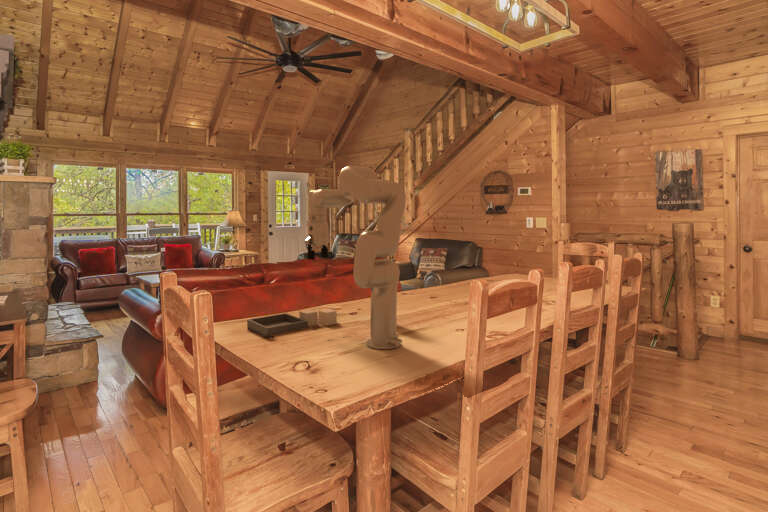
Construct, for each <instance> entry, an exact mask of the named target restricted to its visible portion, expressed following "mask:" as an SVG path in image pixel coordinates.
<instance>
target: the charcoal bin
mask: <svg viewBox="0 0 768 512" xmlns="http://www.w3.org/2000/svg"><path fill="white" fill-rule="evenodd" d="M246 322H247V323H246V325H247V330H249V331H251V332H252V333H254V334H256V335H259V336H261V337H264V338H265V339H271V338H274V335H278V334H280V335H281V334H285V333H290V332H294V331H300V330H304V329H309V328H308V321H307V320H304V319H301V318H300V317H298V316H295V315H293V314H289V313H287V312H286V313H285V312H283V313H279V314H278V313H277V314H273V315H266V316H261V317H253V318H248V319H247V321H246Z"/></svg>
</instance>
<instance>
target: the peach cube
mask: <svg viewBox="0 0 768 512" xmlns="http://www.w3.org/2000/svg"><path fill="white" fill-rule="evenodd" d="M337 312H338V311H337V310H336V309H332V308H325V309H321V310H320V309H319V310H318V319H319V323H320V324H323V325H325V326H327V325H332V324H337V323H338V322H337V321H338V317H337V316H338V315H337Z"/></svg>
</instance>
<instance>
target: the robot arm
mask: <svg viewBox="0 0 768 512" xmlns="http://www.w3.org/2000/svg"><path fill="white" fill-rule="evenodd" d="M337 185H338V186H337V187H338V189H334V188H332V189H331V188H330V189H329V188H328V189H327V188H323V189H322V188H321V189H311V190H310V191H309V192H308V228H307V238H306V239H305V240H304V243H305V248H306V251H307V260H313V261H314V260H316V258H315V257H316V256H315V255H316V254H315V253H316V252H315V248H316V247H320V246H321V251H320V255H321V258H325V259H326V258H328V257H329V246H330V243H331V237H330V233H329V232H330V231H329V225H328V220H327V217H328V216H327V215H328V214H327V212H328V210H327V208H339V209H340V208H343V207H346V206H348V205H351V204H354V202H355V200H356V201H358V202H359V203H361V204H365V205H367V204H368V205H370V204H371V205H382V204H383V205H384V206H383V207H382V209H381V210H380V212H379V214H378V218H377V224H376V229H375V230H366V231H363V232H362V233H360V235H359V236H358V238H357V240H356V243H355V252H354V261H353V262H354V264H353V280H354V283H355V284H356V286H357V287H359V288H361V289H370V288H371V289H372V287H374V289H373V291H372V290H371V295H370V338H369V339H367V340H366V343H365V344H366V346H367V347H368V348H371V349H375V350H392V349H396V348H398V347H399V348H400V346H401V344H402V342H403V339H402V338H399V334H398V333H397V310H398V309H397V303H398V301H397V299H398V298H397V297H398V285H399V282H400V277H401V276H400V274H401V272H400V271H401V270H400V266H399V265H398V264H397V262H396V261H395V260H392V259H388V257H392V256H395V255H396V254H397V252H398V250H399V246H400V239H401V232H402V231H401V230H402V223H403V222H402V221H403V216H404V212H405V208H406V204H407V197H406V192H405V190H404V187H403V185H401V184H400V183H398V182H397V181H394V180H389V179H378V175H377V173H376V172H375V170H374V169H373V168H371V167H368V166H358V165H347V166H345V167H343V168H342V169H341V170H340V172H339V175H338V184H337ZM385 257H387V258H386V259H385ZM377 258H380V259H377ZM381 258H382V259H381Z"/></svg>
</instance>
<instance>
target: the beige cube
mask: <svg viewBox="0 0 768 512" xmlns="http://www.w3.org/2000/svg"><path fill="white" fill-rule="evenodd" d="M299 318H301V319H304V320H307V321H308V326H312V325H317V324H318V319H319V311H316V310H313V309H306V310H299Z"/></svg>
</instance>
